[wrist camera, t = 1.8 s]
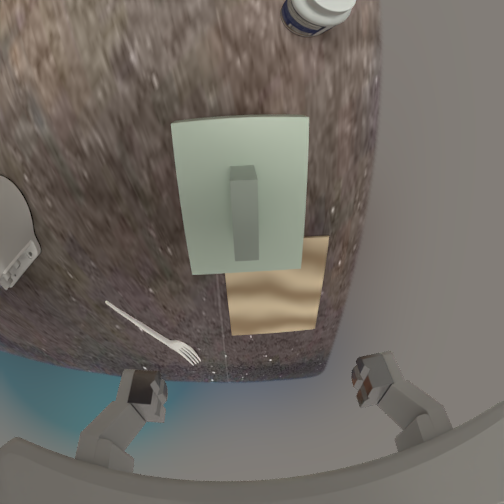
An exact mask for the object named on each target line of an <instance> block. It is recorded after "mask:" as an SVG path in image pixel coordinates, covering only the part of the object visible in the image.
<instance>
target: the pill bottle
mask: <svg viewBox="0 0 504 504" xmlns="http://www.w3.org/2000/svg"><path fill="white" fill-rule="evenodd" d="M355 3H356V0H286V1H285V3H284V4H283V6H282V9H281V19H282V21H283V23H284V25H285V26H286V27H287V28H288V29H289V30H290V31H292V32H293V33H295V34H298V35H301V36H306V37H311V36H316V35H319V34H321V33H323V32H325V31H327V30H329V29H330V28H332V27H334V26H336V25H338V24H340V23H342V22H343V21H345V20H346V19H347V18H348V16H349V15H350V12H351V8H352V7H353V6H354V5H355Z"/></svg>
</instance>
